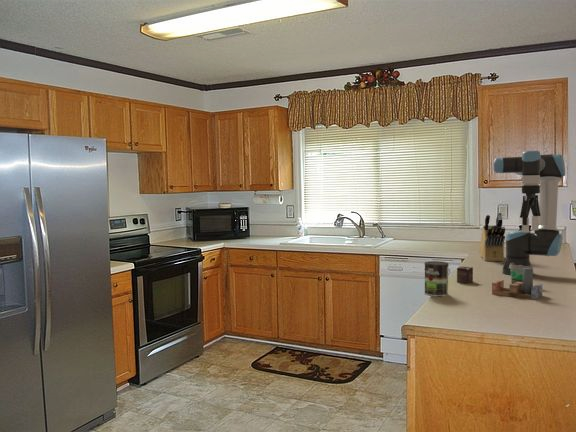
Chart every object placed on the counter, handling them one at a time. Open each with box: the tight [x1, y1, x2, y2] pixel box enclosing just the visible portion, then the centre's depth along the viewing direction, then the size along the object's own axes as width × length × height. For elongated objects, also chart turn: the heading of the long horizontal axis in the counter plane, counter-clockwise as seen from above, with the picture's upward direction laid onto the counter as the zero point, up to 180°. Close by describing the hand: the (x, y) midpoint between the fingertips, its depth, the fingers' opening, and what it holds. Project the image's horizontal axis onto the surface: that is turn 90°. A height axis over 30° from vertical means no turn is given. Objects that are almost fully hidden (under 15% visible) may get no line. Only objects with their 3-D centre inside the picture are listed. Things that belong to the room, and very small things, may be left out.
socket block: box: [491, 279, 543, 300], centre depth 228 cm, size 10×18×5 cm, turn 48°
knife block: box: [478, 211, 506, 262], centre depth 332 cm, size 11×35×31 cm, turn 167°
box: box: [456, 266, 474, 285], centre depth 259 cm, size 6×6×7 cm
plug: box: [523, 268, 534, 295], centre depth 225 cm, size 4×4×12 cm
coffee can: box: [424, 260, 450, 297], centre depth 232 cm, size 10×10×14 cm
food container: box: [509, 263, 534, 284], centre depth 249 cm, size 12×6×10 cm, turn 21°
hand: (530, 231), depth 239 cm, fingers open, 13 cm apart
